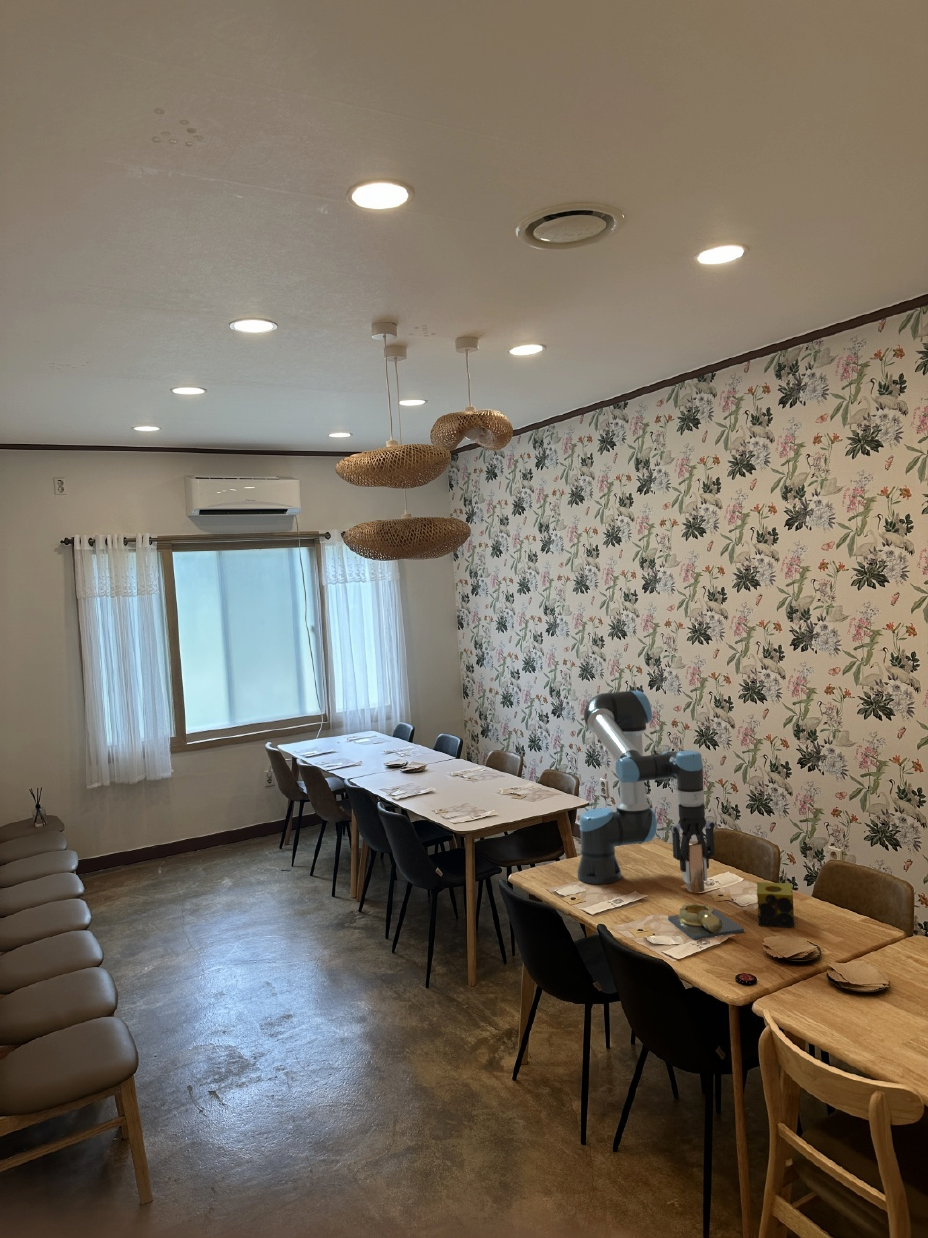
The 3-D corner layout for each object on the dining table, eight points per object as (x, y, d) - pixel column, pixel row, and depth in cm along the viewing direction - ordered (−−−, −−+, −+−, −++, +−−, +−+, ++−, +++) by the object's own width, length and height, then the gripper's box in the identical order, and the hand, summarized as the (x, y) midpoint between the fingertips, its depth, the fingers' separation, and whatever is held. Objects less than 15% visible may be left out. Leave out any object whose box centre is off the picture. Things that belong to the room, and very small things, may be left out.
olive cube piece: (793, 916, 254) (792, 883, 254) (795, 929, 245) (793, 895, 245) (758, 913, 258) (756, 881, 257) (758, 926, 248) (756, 892, 248)
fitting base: (667, 919, 257) (666, 901, 257) (715, 911, 261) (714, 894, 260) (693, 940, 241) (692, 921, 241) (744, 932, 245) (743, 913, 244)
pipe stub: (684, 888, 255) (681, 842, 254) (699, 886, 256) (697, 840, 255) (692, 893, 250) (689, 846, 249) (707, 891, 251) (705, 844, 251)
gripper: (669, 809, 247) (673, 888, 247) (725, 803, 251) (729, 880, 251) (657, 804, 254) (661, 880, 254) (712, 797, 258) (716, 873, 258)
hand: (695, 880), depth 253 cm, fingers closed on pipe stub, 5 cm apart
